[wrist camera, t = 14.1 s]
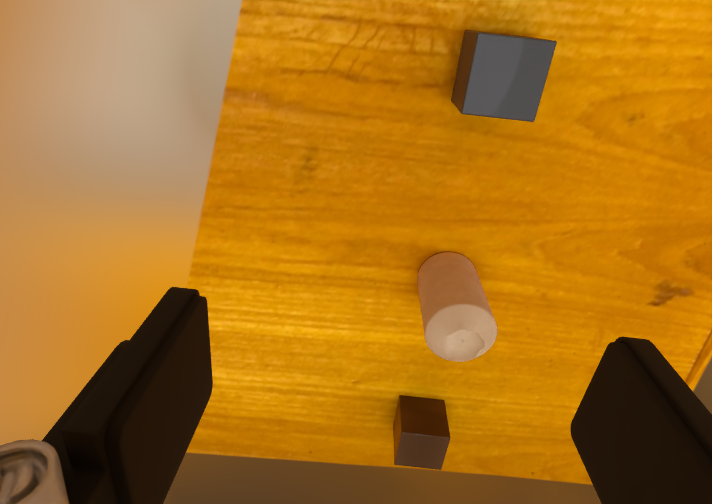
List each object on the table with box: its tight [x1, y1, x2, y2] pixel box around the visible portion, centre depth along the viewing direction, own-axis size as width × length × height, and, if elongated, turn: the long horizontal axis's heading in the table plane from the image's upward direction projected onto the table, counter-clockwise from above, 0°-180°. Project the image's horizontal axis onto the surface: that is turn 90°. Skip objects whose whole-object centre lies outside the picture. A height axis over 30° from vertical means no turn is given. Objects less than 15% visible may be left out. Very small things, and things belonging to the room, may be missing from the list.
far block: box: [393, 396, 450, 470], centre depth 48 cm, size 5×5×5 cm
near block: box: [451, 30, 556, 122], centre depth 31 cm, size 5×5×5 cm
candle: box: [418, 252, 497, 362], centre depth 38 cm, size 6×6×10 cm
